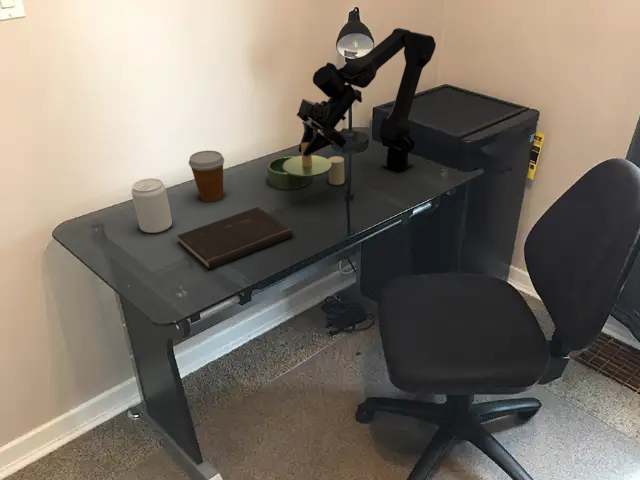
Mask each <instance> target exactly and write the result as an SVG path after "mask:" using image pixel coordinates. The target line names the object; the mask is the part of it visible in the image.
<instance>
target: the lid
mask: <svg viewBox="0 0 640 480" xmlns="http://www.w3.org/2000/svg"><path fill="white" fill-rule="evenodd" d="M308 144H309V142H304V143H302V144H301V150H302V153H301V155H298V156H293V157H294V158H291V159H289V160H287V161H286V162H284V164H283V170H284V171H285V172H286V173H288V174H290V175H293V176H298V177H311V178H312V177H318V176H322V175H324V174H326V173H329V172H328V171H329V170H330V169H331V167H332V164H331V162H330V161H329V160H328V159H329V158H326V157H323V156H321V155H312V154H310V155H308V156H304V155H303V153H304V151H305V149H306V147H307V146H308Z"/></svg>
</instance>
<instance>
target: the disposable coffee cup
mask: <svg viewBox="0 0 640 480" xmlns="http://www.w3.org/2000/svg"><path fill="white" fill-rule="evenodd" d="M224 163H225V158H224V156H223V154H222V153H221V152H220V151H217V150H201V151H197V152H195V153H193V154H191V155H190V156H189V160H188V165H189V167H190V168H191V171H192V175H193V178H194V182H195V185H196V187H197V191H198V195H199V197H200V200H202V201H204V202H216V201H219V200H221V199H222V198H223V197H224Z"/></svg>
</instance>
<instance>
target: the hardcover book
mask: <svg viewBox="0 0 640 480" xmlns="http://www.w3.org/2000/svg"><path fill="white" fill-rule="evenodd" d="M177 237H178V238H179V239H178V240H179V241H178V244H179V245H180V246H182V247H183V248H184V249H185V250H186V251H187V253H189V254H191V255H192V256H193V257H194V258H195V259H196V260H198V262H199V263H200V264H202V265H203V266H204V267H205V268H206V269H207V270H210V271H211V270H212V269H214V268H217V267H219V266H222V265H225V264H227V263H230V262H233V261H235V260H238V259H240V258H242V257H245V256H248V255H250V254H252V253H255V252H257V251H260V250H263V249H265V248H269V247H270V246H273V245H275V244H278V243H281V242H282V241H285V240H288V239H291V238H293V231H292V229H291V228H289V227H288V226H287V225H285V224H283V223H282V222H281V221H280V220H278V219H276V218H275V217H273V216H272V215H271V214H269V213H267V212H266V211H264V209H262V208H260V207H259V206H256V207H254V208H251V209H248V210H245V211H242V212H239V213H237V214H234V215H230V216H228V217H225V218H223V219H219V220H217V221H214V222H211V223H207V224H205V225H202V226H199V227H197V228H194V229H191V230H188V231H185V232H183V233H180V234H177Z"/></svg>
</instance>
